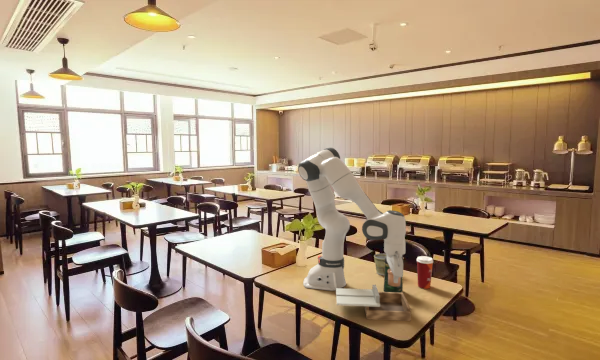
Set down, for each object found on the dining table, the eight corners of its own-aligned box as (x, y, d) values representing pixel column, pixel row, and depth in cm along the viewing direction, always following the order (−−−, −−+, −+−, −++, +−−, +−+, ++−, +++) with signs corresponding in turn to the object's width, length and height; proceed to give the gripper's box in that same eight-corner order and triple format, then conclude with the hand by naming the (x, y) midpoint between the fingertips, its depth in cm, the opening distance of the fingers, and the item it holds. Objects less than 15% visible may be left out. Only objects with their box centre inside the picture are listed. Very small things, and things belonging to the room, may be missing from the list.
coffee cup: (433, 290, 170) (435, 261, 168) (416, 289, 172) (417, 260, 170) (431, 283, 178) (431, 256, 177) (414, 282, 180) (415, 255, 178)
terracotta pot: (402, 287, 144) (402, 273, 144) (388, 286, 145) (388, 273, 144) (399, 281, 150) (400, 268, 150) (386, 281, 151) (386, 268, 150)
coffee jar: (395, 297, 162) (396, 259, 160) (381, 292, 168) (381, 256, 166) (405, 291, 169) (406, 255, 167) (391, 286, 175) (391, 251, 173)
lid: (336, 305, 143) (336, 296, 143) (336, 289, 158) (336, 282, 158) (380, 306, 141) (380, 298, 141) (375, 291, 157) (375, 283, 156)
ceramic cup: (371, 274, 191) (371, 257, 190) (377, 269, 200) (377, 252, 199) (394, 279, 185) (394, 261, 184) (399, 273, 193) (399, 256, 192)
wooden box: (366, 318, 142) (366, 307, 142) (363, 301, 158) (363, 291, 157) (410, 320, 140) (411, 309, 140) (402, 303, 156) (402, 292, 156)
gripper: (407, 256, 135) (406, 289, 137) (397, 241, 156) (397, 271, 157) (391, 256, 136) (390, 289, 137) (383, 241, 156) (383, 270, 158)
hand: (394, 279), depth 147 cm, fingers closed on terracotta pot, 5 cm apart
